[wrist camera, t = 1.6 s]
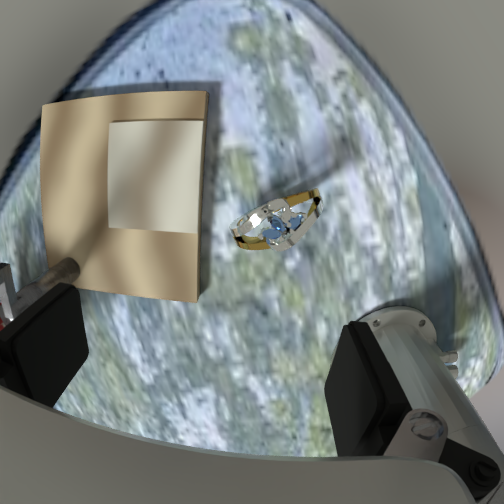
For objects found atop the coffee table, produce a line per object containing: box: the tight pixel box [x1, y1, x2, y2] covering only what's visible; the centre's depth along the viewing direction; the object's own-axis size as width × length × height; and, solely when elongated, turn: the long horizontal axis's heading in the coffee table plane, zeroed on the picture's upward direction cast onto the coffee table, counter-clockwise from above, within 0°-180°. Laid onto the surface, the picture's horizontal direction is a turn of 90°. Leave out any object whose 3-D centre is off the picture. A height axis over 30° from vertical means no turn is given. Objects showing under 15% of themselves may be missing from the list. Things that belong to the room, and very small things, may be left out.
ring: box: [229, 188, 323, 251], centre depth 22 cm, size 7×3×8 cm, turn 110°
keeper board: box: [40, 91, 209, 303], centre depth 25 cm, size 16×18×2 cm
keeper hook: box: [0, 257, 80, 326], centre depth 21 cm, size 2×5×12 cm, turn 176°
